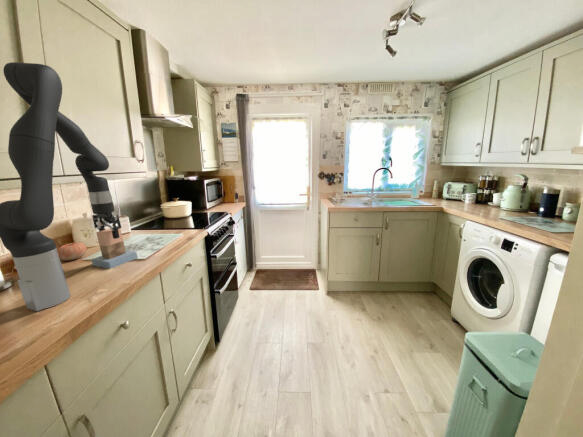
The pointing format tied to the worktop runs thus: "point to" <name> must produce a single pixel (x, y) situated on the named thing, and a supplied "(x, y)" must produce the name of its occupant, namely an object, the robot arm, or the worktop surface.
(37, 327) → the worktop surface
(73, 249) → the reddish brown rounded lump
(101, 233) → the terracotta brick
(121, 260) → the base plate
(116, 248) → the walnut brick
